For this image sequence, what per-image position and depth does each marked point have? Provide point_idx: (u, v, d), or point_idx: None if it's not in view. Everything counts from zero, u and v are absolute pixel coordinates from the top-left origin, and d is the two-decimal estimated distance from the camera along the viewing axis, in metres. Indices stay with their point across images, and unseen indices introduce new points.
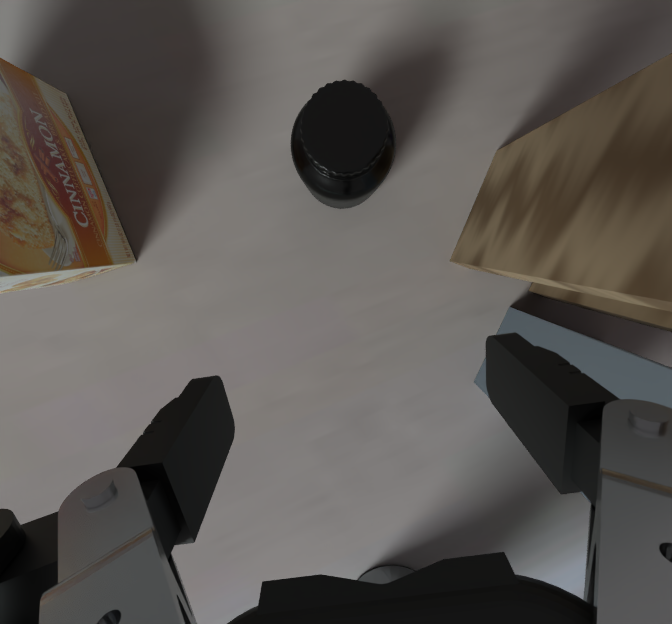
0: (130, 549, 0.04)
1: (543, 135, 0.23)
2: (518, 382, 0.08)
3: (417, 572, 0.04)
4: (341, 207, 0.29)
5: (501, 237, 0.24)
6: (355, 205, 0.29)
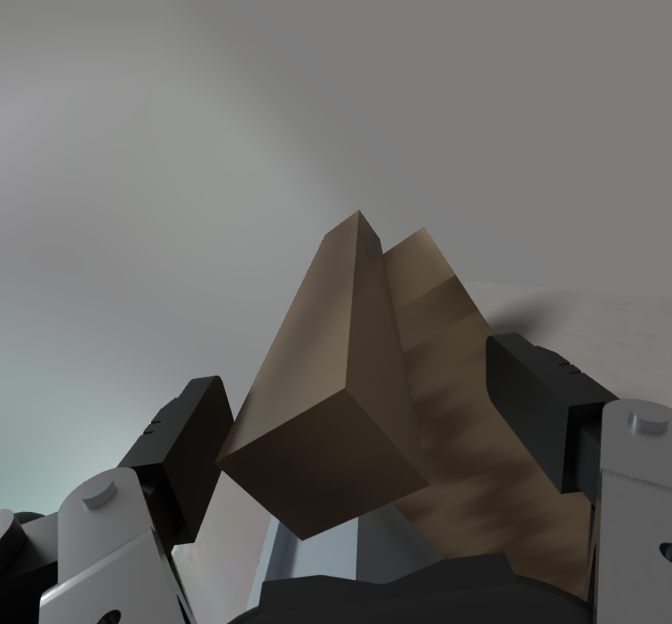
0: (130, 549, 0.04)
1: None
2: (518, 382, 0.08)
3: (417, 572, 0.04)
4: None
5: None
6: None
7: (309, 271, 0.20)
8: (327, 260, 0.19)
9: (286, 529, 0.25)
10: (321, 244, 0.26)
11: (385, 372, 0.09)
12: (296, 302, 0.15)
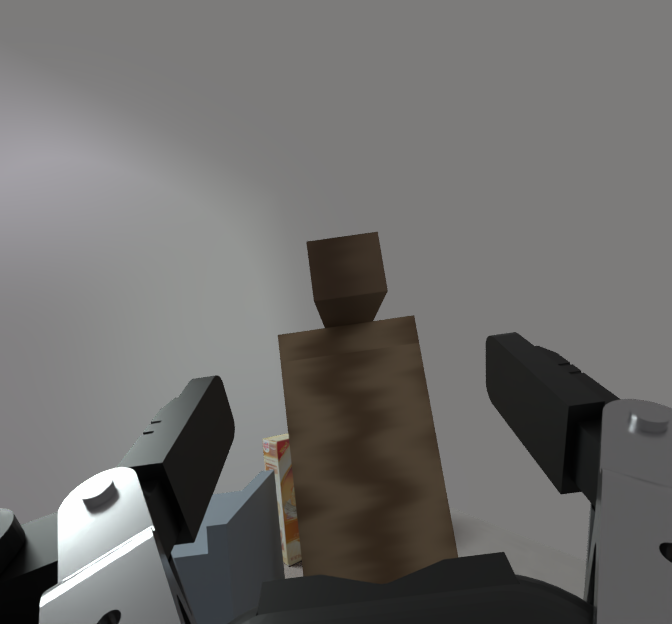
0: (130, 549, 0.04)
1: None
2: (518, 382, 0.08)
3: (417, 572, 0.04)
4: None
5: None
6: None
7: None
8: None
9: None
10: None
11: None
12: None
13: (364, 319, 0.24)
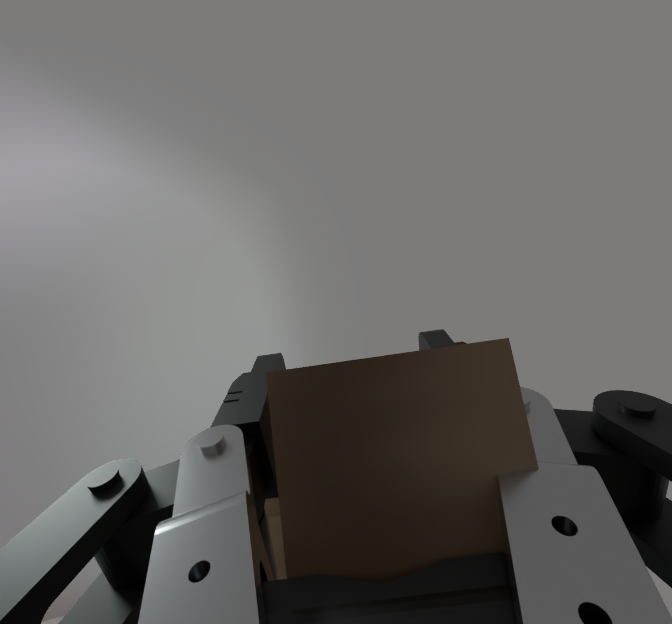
0: (226, 507, 0.05)
1: None
2: None
3: (417, 572, 0.04)
4: None
5: None
6: None
7: None
8: None
9: None
10: None
11: None
12: None
13: None
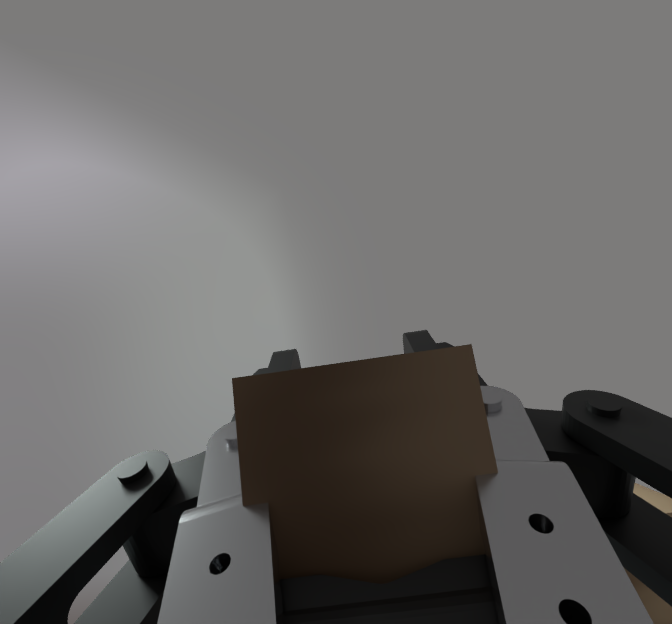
0: None
1: None
2: None
3: (417, 572, 0.04)
4: None
5: None
6: None
7: None
8: None
9: None
10: None
11: None
12: None
13: None
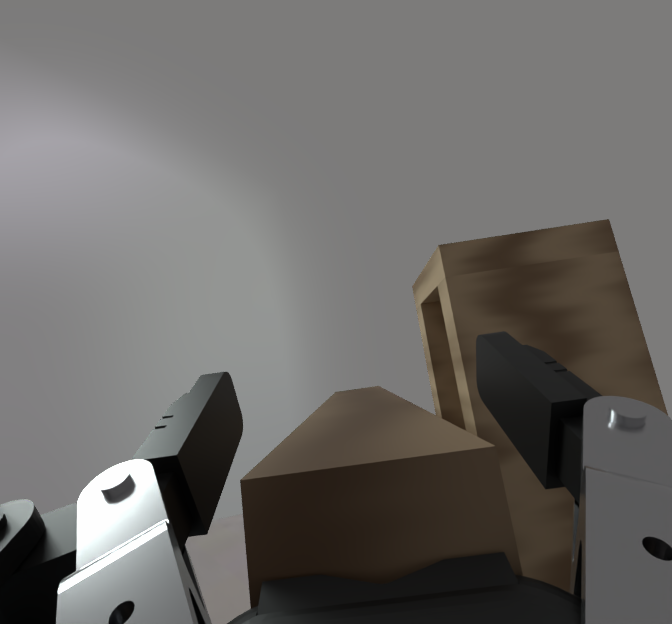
0: (145, 541, 0.04)
1: None
2: (506, 380, 0.09)
3: (417, 572, 0.04)
4: None
5: None
6: None
7: (328, 401, 0.18)
8: (354, 399, 0.17)
9: None
10: (334, 394, 0.25)
11: None
12: (323, 411, 0.13)
13: None
